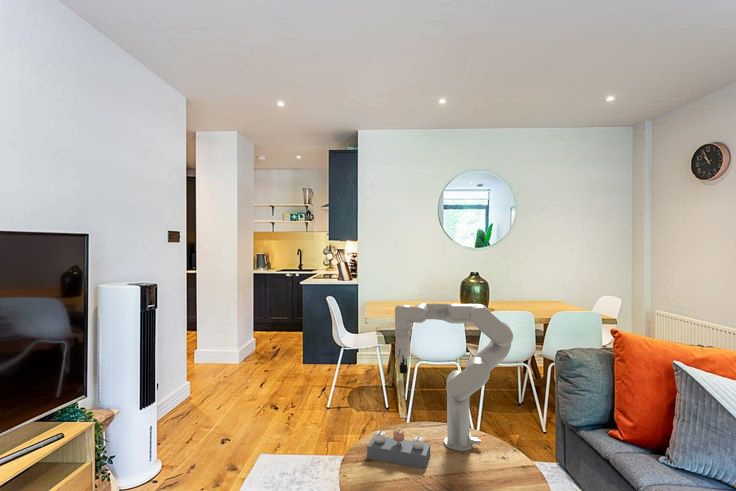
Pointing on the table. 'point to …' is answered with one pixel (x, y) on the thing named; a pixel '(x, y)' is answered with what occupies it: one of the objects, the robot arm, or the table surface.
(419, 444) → the knob near
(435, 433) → the table surface
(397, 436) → the knob middle
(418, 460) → the control rail
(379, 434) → the knob far
